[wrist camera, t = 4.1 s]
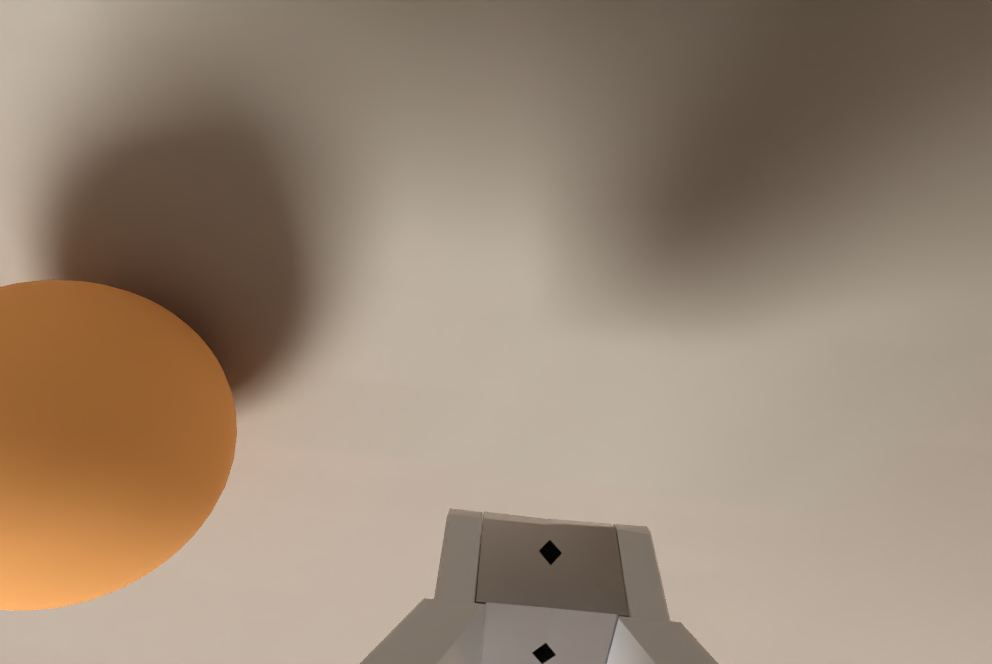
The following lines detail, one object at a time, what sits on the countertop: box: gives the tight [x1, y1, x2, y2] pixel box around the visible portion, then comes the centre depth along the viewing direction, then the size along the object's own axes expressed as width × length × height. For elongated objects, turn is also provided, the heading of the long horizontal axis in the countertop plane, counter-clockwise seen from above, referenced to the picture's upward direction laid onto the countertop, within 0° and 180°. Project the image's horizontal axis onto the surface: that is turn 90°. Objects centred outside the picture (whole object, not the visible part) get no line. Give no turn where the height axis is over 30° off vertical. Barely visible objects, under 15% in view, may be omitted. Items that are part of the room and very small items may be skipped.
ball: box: [0, 280, 237, 611], centre depth 11 cm, size 6×6×6 cm
